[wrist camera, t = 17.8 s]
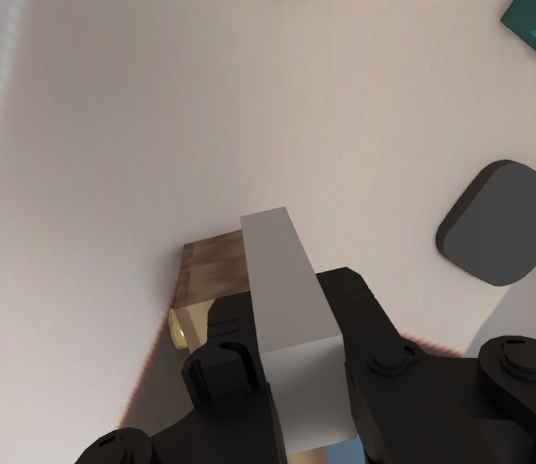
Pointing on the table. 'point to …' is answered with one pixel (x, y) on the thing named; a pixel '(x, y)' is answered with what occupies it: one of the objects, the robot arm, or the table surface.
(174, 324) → the brass knob
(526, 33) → the bracket
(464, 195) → the media streaming box
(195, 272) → the console
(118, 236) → the table surface
